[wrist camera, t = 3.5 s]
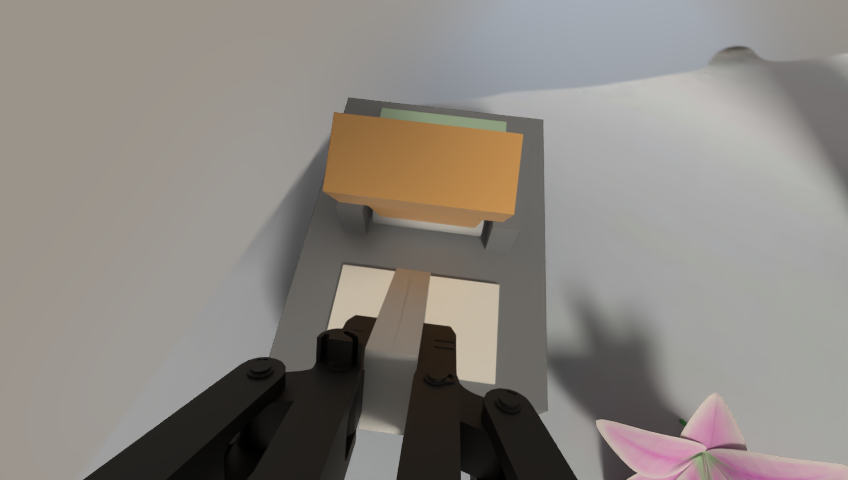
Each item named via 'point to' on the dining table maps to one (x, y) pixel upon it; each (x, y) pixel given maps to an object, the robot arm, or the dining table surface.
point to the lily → (707, 451)
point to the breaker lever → (423, 172)
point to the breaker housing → (434, 270)
